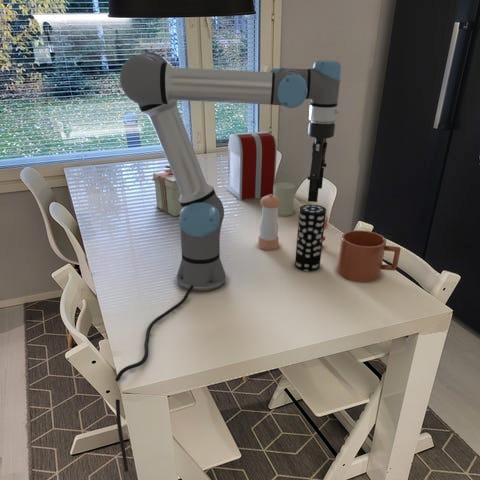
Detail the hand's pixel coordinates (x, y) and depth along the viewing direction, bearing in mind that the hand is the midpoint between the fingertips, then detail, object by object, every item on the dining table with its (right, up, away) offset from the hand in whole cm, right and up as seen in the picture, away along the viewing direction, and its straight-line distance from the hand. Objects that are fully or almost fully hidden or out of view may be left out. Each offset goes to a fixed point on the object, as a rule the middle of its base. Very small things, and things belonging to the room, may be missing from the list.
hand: (315, 194), depth 150 cm
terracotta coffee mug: (+18, -24, +9) cm, 31 cm away
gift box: (-50, +8, +58) cm, 77 cm away
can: (-5, +7, +58) cm, 58 cm away
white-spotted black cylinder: (-1, -21, +13) cm, 25 cm away
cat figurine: (+4, -12, +27) cm, 30 cm away
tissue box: (-18, +21, +79) cm, 84 cm away
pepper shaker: (-13, -12, +27) cm, 32 cm away
